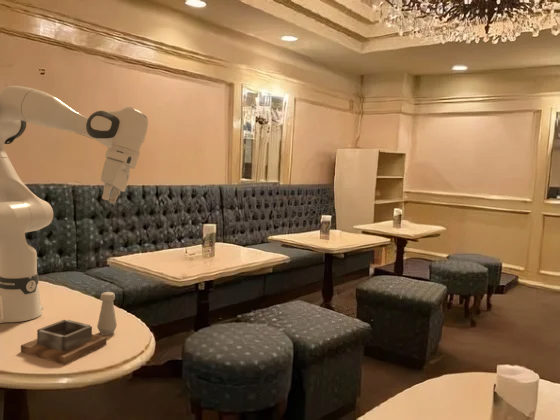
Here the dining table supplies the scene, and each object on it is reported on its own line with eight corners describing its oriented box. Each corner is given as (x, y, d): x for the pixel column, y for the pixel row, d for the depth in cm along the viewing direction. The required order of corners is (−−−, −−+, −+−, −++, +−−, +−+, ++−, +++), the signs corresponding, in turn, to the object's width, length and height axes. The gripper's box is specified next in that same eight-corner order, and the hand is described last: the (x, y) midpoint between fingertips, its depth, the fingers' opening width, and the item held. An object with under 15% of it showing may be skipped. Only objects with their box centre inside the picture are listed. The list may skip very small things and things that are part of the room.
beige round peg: (110, 337, 151) (111, 296, 150) (93, 334, 152) (94, 294, 151) (120, 330, 157) (120, 291, 155) (103, 328, 158) (104, 289, 156)
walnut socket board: (20, 352, 137) (20, 331, 136) (65, 333, 152) (65, 315, 151) (64, 364, 131) (64, 343, 130) (106, 344, 146) (106, 324, 145)
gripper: (119, 161, 162) (105, 201, 161) (105, 149, 142) (89, 194, 141) (137, 167, 163) (124, 207, 161) (126, 155, 143) (111, 201, 141)
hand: (108, 201), depth 151 cm, fingers open, 8 cm apart
